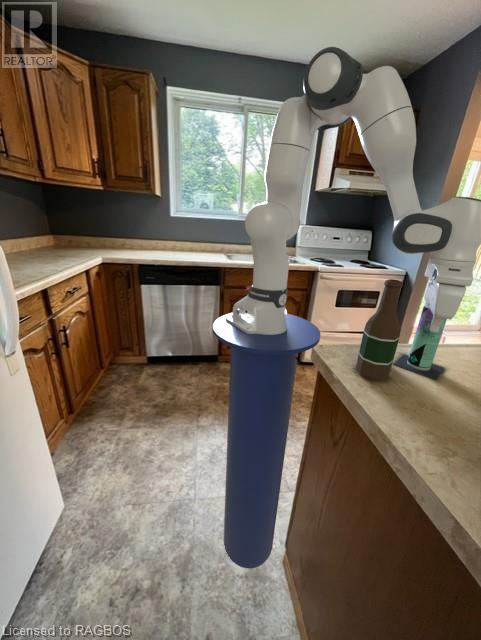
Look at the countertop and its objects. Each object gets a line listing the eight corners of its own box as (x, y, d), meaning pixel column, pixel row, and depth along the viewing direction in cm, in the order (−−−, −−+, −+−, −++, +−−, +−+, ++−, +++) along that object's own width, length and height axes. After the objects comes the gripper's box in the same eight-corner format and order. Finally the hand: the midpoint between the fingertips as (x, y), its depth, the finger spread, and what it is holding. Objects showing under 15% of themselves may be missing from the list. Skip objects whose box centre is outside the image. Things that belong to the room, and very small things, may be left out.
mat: (393, 364, 74) (393, 363, 74) (403, 354, 80) (403, 354, 80) (436, 379, 67) (436, 379, 67) (444, 368, 73) (444, 367, 73)
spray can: (422, 361, 76) (444, 292, 69) (434, 371, 71) (460, 297, 64) (402, 359, 76) (423, 290, 69) (413, 369, 71) (436, 296, 64)
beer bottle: (370, 383, 64) (395, 284, 56) (348, 367, 71) (367, 277, 63) (395, 379, 67) (423, 283, 59) (372, 364, 74) (393, 276, 65)
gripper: (426, 264, 75) (413, 312, 80) (438, 276, 58) (420, 335, 62) (454, 267, 72) (438, 316, 77) (475, 280, 55) (453, 341, 60)
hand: (430, 325), depth 70 cm, fingers open, 8 cm apart
